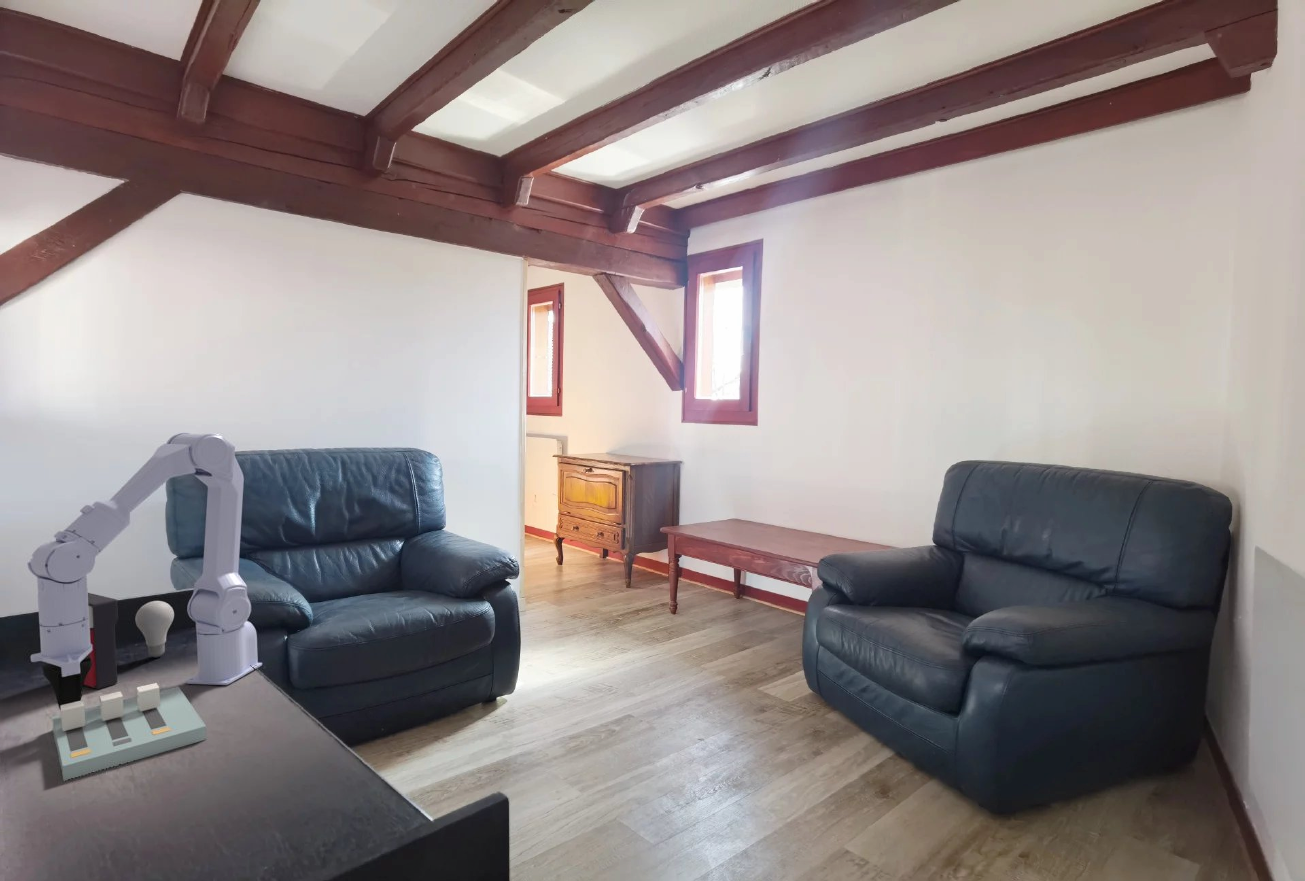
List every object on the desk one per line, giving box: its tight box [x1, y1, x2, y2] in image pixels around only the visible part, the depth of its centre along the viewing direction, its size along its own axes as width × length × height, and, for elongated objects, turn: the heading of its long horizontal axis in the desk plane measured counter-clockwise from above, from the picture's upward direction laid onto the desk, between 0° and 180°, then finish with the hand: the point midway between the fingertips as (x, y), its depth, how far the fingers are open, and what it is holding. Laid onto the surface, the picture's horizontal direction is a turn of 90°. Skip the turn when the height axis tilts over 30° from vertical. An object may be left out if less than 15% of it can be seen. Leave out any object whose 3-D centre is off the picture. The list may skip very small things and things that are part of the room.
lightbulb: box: [135, 600, 175, 658], centre depth 135 cm, size 6×6×11 cm
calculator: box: [83, 592, 119, 690], centre depth 123 cm, size 11×4×15 cm, turn 62°
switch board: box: [51, 686, 208, 782], centre depth 103 cm, size 20×16×2 cm
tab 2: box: [99, 690, 124, 721], centre depth 104 cm, size 2×2×3 cm
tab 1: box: [59, 699, 85, 731], centre depth 101 cm, size 2×2×3 cm
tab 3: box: [136, 682, 160, 712], centre depth 107 cm, size 2×2×3 cm
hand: (69, 709), depth 105 cm, fingers closed
